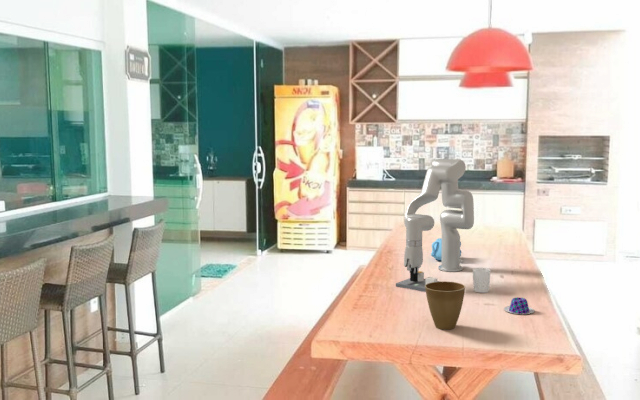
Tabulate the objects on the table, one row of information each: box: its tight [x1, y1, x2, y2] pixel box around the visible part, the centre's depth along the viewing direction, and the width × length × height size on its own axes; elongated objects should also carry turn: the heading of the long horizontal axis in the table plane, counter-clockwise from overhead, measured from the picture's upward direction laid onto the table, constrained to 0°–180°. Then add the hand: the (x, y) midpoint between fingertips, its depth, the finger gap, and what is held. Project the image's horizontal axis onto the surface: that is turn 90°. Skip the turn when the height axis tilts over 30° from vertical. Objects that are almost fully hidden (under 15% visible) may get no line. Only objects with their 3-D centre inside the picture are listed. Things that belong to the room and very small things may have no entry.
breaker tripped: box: [418, 270, 425, 282], centre depth 304 cm, size 3×4×4 cm
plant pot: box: [425, 281, 466, 331], centre depth 240 cm, size 15×15×16 cm
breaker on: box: [425, 276, 438, 284], centre depth 292 cm, size 3×4×4 cm
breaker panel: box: [395, 277, 442, 293], centre depth 299 cm, size 16×24×2 cm, turn 50°
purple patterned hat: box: [503, 297, 535, 315], centre depth 260 cm, size 12×12×5 cm
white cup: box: [472, 267, 491, 294], centre depth 291 cm, size 8×8×10 cm
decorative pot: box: [430, 237, 462, 261], centre depth 357 cm, size 16×16×14 cm
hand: (413, 280), depth 301 cm, fingers closed
